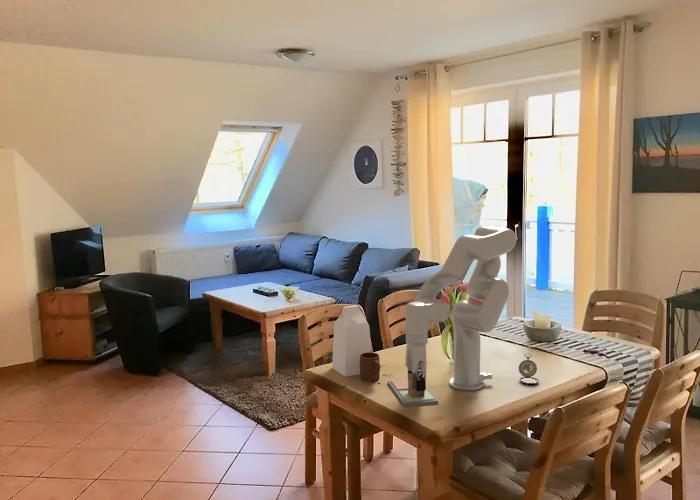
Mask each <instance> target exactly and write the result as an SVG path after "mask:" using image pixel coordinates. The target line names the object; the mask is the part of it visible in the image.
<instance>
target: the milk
mask: <svg viewBox="0 0 700 500" xmlns="http://www.w3.org/2000/svg"><path fill="white" fill-rule="evenodd" d="M370 331H371V330H370V324H369V323H368V321H367V319H366V317H365V316H364V314H363V312H362V310H361V308H360V306H359V305H349V306H343V308H342V311H341V314H340V315H339V316H338V317H337V319H336V320H335V322H334V324H333V340H332V341H333V343H332V344H333V345H332V362H331V363H332V369H333V370H334V371H336V372H338V373H339V374H341V375H342V376H343V377H350V376H351V377H352V376H355V375H360V355H361V354H362V353H368V352H371V353H372V347H371V332H370Z"/></svg>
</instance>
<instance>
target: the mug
mask: <svg viewBox="0 0 700 500" xmlns="http://www.w3.org/2000/svg"><path fill="white" fill-rule="evenodd" d="M380 371H381V361H380V355H379V353H376V352H372V351H371V352H368V353H362V354H361V355H360V374H359V379H360V380H361V381H362V382H366V383H374V382H377V381H379V380H380V373H381V372H380Z"/></svg>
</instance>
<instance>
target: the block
mask: <svg viewBox="0 0 700 500" xmlns="http://www.w3.org/2000/svg"><path fill="white" fill-rule="evenodd" d="M420 374H421V373H420ZM420 374H419V376H420ZM407 379H408V393H409V395H410V396H411V397H412V398H416V397H424V394H425V391H416V380H417V375H416V373H413V374H408V373H407Z"/></svg>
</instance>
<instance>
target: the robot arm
mask: <svg viewBox="0 0 700 500" xmlns="http://www.w3.org/2000/svg"><path fill="white" fill-rule="evenodd" d="M516 245H517V235H516V233H515V231H513V230H512V229H510V228H506V227H497V226H491V225H490V226H488V225H482V226H479V227H478V228H476V229H475V232H474V234H464V235H463V234H462V235H461V236H459V237H458V238H457V239H456V242H455V243H454V245H453V246H452V248H451V250H450V252H449V255H448V256H447V258H446V260H445V262H444V264H443V266H442V267H441V269H440V270H438V271H437V272H436V273H434V274H433V275H432V276H430V277H429V278H428V279H427V280H426V281H424V283H423V284H422V286H421V287H420V289H419V291H418V292H417V294H416V296H415V299H414V301H410V302H408V303H406V305H405V343H406V345H405V363H404V364H405V366H406V368H407V375H408V374H413V373H416V375H417V380H416V391H425V390H426V385H427V383H426V382H427V363H428V362H427V344H428V342H429V339H428V336H429V335H428V334H429V333H428V332H429V330H428V326H429V325H428V324H429V323H443V322H446V321H447V320H448V319H449V318H450V315H451V320H452V321H451V322H452V327H453V377H451V378H450V379H449V381H448V383H449V385H450V387H452V388H454V389H456V390H460V391H470V392H471V391H478V390H481V389H482V388H483V387H484V386H485V383H484V381H485V380H492V379H493V374H492V373H486V372H481V335H480V332H481V333H489V332H492V330H494V329H495V327H496V326H497V323H498V322H499V319H500V317H501V315H502V313H503V311H504V308H505V305H506V303H507V301H508V298H509V294H510V293H509V292H510V290H509V289H510V288H509V285H508V283H507V282H506V280H504V279H503V278H501V277H498V275H499V273H500V270H501V265H502V261H501V257H500V256H503V255H505V254H507V253H510V252H511V251H512V250H513V249H514V248H515V246H516ZM474 261H477V262H476V265H475V267H474V269H473V272H472V273H471V276H470V278H469V281H468V283H467V287H466V294H467V295H468V296H469V297H470V298H471V299H474V300H477V301H481V302H482V303H479V302H475V301H471V300H466V299H465V300H464V299H462V300H459V301H457V302H455V304H454V305H453V306H452V309H451V307H450V305H449V304H448V303H447V302H445V301H443V300H440V299H436V296H437V294H439V293H440V292H441V291H442V290H443V289H446V288H448V287H451V286H452V285H457V284H459V283H461V282H463V281H464V279H465V278H466V276H467V274H468V271H469V270H470V268H471V266H472V264H473V262H474ZM420 373H421V374H420ZM419 374H420V376H419Z"/></svg>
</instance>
